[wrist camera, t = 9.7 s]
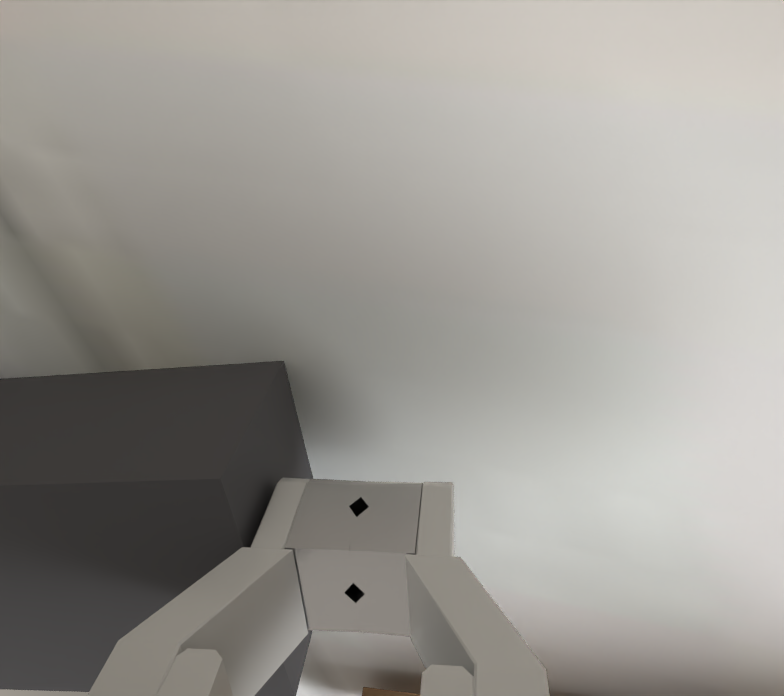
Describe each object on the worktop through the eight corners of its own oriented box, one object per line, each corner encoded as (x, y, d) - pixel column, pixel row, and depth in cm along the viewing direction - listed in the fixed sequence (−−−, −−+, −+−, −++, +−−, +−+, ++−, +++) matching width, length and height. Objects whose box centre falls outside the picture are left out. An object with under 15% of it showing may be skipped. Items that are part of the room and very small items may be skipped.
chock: (6, 373, 12) (-144, 490, 9) (286, 355, 11) (220, 478, 8) (94, 550, 15) (-3, 689, 12) (333, 547, 14) (295, 698, 11)
